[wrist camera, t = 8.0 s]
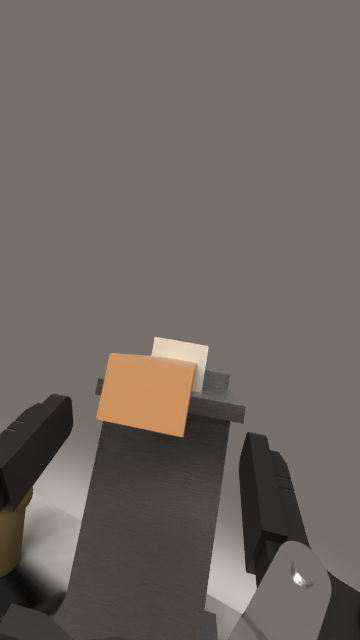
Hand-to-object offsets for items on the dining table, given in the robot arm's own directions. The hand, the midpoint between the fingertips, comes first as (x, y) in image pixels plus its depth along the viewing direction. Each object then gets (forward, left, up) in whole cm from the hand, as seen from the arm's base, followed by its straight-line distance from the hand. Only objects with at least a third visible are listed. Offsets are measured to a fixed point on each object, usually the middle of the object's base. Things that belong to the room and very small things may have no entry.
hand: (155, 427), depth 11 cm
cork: (-24, +29, -32) cm, 49 cm away
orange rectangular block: (-1, +12, 0) cm, 12 cm away
